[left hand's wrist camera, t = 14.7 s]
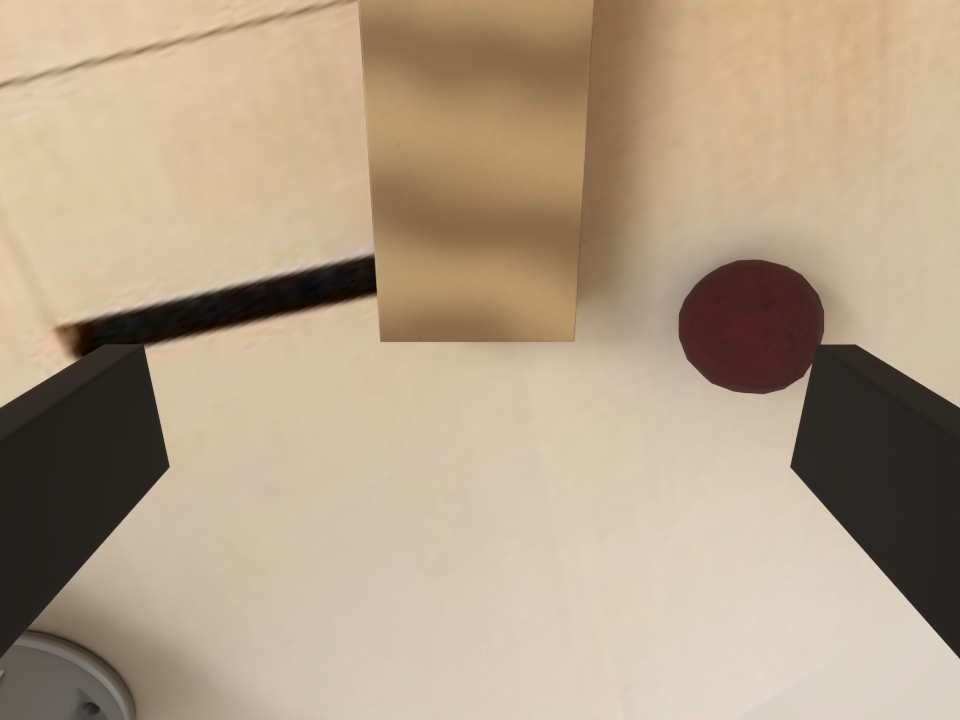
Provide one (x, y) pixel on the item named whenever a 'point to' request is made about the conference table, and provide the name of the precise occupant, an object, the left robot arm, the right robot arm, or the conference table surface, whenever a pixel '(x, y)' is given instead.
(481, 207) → the slab
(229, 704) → the conference table surface
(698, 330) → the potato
